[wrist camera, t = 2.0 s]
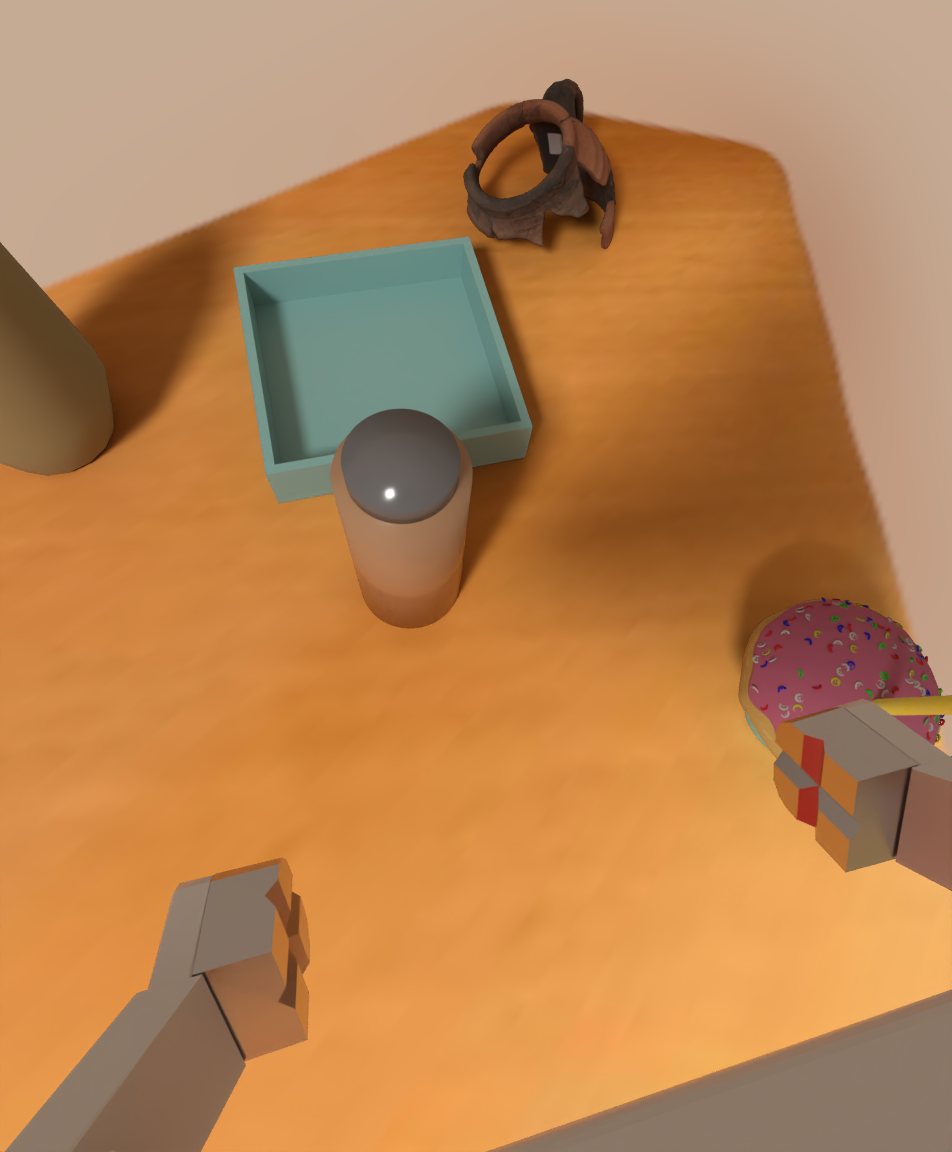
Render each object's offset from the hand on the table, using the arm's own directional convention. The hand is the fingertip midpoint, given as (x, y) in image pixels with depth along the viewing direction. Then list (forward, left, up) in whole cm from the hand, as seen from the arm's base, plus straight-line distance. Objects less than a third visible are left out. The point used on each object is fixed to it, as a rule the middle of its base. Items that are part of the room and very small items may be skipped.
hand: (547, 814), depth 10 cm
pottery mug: (+14, +37, -21) cm, 45 cm away
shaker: (0, +12, -21) cm, 24 cm away
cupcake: (+17, +1, -21) cm, 27 cm away
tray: (+1, +25, -21) cm, 33 cm away
